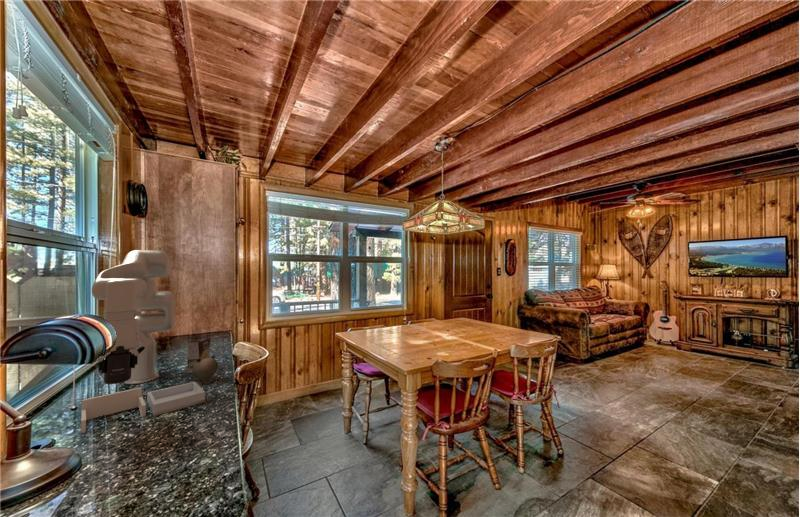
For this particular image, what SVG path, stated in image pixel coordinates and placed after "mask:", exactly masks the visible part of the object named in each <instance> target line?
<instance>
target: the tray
mask: <svg viewBox="0 0 800 517" xmlns="http://www.w3.org/2000/svg"><path fill="white" fill-rule="evenodd" d="M196 382H197V381H192V382H187V383H182V384H179V385H174V386H170V387H166V388H162V389H161V388H160V389H157V390H152V391H148V392H147V396H146V398H147V399H146V403H147V405H149V406H148V408H149V409H150V411H151V414H152V416H153V417H155V415H156V416H159V415H162V413H163V414H166V412H167V413H170V412H174V411H178V410H180V409H184V408H188V407H192V406H195V405H199V404H202V403H206V391H205V390H204V389H203V388H202V387H201V385H198V384H197V383H196ZM158 414H159V415H158Z"/></svg>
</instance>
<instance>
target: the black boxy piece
mask: <svg viewBox="0 0 800 517" xmlns="http://www.w3.org/2000/svg"><path fill="white" fill-rule="evenodd" d="M104 360H105V373H104V374H103V383H104V384H105V385H115V384H121V383H124V382H125V381H128V380H129V379H130V378H131V371H132V353H131V352H130V350H127V349H124V346H118V347H116V351H113V352H108V353H107V355H106V356H105V358H104Z"/></svg>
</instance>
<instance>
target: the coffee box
mask: <svg viewBox="0 0 800 517" xmlns="http://www.w3.org/2000/svg"><path fill="white" fill-rule="evenodd" d="M187 343H188V345H187V364H186V365H187V368H186V369H187V370H186V372H187V373H192V368H193V366H194V364H195V363H196V362H197V359H202V358H210V357H211V355H210V354H211V353H210V352H211V338H210V337H205V338H203V337H202V338H196V339H193V340H190V341H188V342H187ZM187 373H186V374H187Z"/></svg>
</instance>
